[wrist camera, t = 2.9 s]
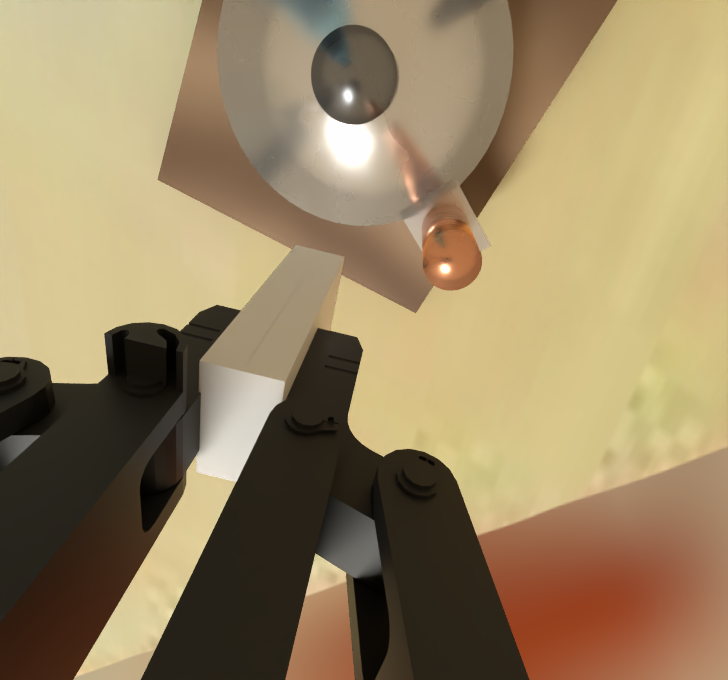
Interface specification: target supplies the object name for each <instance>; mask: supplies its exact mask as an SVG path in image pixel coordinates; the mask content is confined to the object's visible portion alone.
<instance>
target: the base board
mask: <svg viewBox="0 0 728 680" xmlns="http://www.w3.org/2000/svg"><path fill="white" fill-rule="evenodd" d="M507 1H508V6H509V11H510V16H511V21H512V33H513V45H514V47H513V71H512V77H511V84H510V91H509V95H508V99H507V103H506V106H505V110H504V114H503V116H502V119H501V121H500V124H499V127H498V129H497V132H496V134H495V136H494V138H493V140H492V142H491V144H490V145H489V147H488V149H487V151H486V153H485V154H484V156H483V157H482V159H481V160H480V162H479V163H478V164H477V166H476V167H475V169H474V170H473V171H472V172H471V173H470V175H469V176H468V177H467V178H466V179H465V180H464V181H463V183H462V184H461V185H460V187H461V189H462V191H463V193H464V195H465V196H466V198H467V200H468V202H469V204H470V206H471V208H472V210H473V212H474V214H475V215H476V217H478V216H479V214H480V213H481V211H482V210H483V208H484V206H485V205H486V203H487V202H488V200H489V199H490V197H491V196H492V194H493V193H494V191H495V189H496V188H497V186H498V185H499V183H500V182H501V180H502V179H503V177H504V175H505V174H506V172H507V171H508V169H509V168H510V166H511V165H512V163H513V161H514V160H515V158H516V157H517V155H518V154H519V152H520V151H521V149H522V148H523V146H524V144H525V143H526V141H527V140H528V138H529V137H530V135H531V134H532V132H533V130H534V129H535V127H536V126H537V124H538V123H539V121H540V120H541V118H542V116H543V115H544V113H545V112H546V110H547V109H548V107H549V106H550V104H551V103H552V101H553V99H554V98H555V96H556V95H557V93H558V92H559V90H560V89H561V87H562V85H563V84H564V82H565V81H566V79H567V78H568V76H569V75H570V73H571V71H572V70H573V68H574V67H575V65H576V64H577V62H578V61H579V59H580V58H581V56H582V54H583V53H584V51H585V50H586V48H587V47H588V45H589V44H590V42H591V40H592V39H593V37H594V36H595V34H596V33H597V31H598V30H599V28H600V26H601V25H602V23H603V22H604V20H605V19H606V17H607V16H608V14H609V13H610V11H611V9H612V8H613V6H614V5H615V3H616V2H617V0H507ZM222 5H223V0H202V4H201V8H200V12H199V16H198V20H197V24H196V28H195V32H194V36H193V40H192V44H191V48H190V52H189V56H188V60H187V64H186V68H185V72H184V76H183V80H182V84H181V88H180V92H179V96H178V100H177V104H176V108H175V112H174V116H173V120H172V124H171V128H170V132H169V136H168V140H167V144H166V148H165V152H164V156H163V160H162V164H161V168H160V173H159V177H158V180H159V181H161V182H163V183H165V184H167V185H169V186H171V187H173V188H175V189H177V190H179V191H181V192H182V193H184V194H186V195H188V196H190V197H192V198H194V199H196V200H198V201H200V202H202V203H204V204H206V205H208V206H210V207H211V208H213V209H215V210H217V211H219V212H221V213H223V214H225V215H227V216H229V217H231V218H233V219H235V220H237V221H239V222H241V223H242V224H244V225H246V226H248V227H250V228H252V229H254V230H256V231H258V232H260V233H262V234H264V235H266V236H268V237H270V238H272V239H273V240H275V241H277V242H279V243H281V244H283V245H285V246H287V247H289V248H291V249H293V248H294V246H295V245H299V246H303V247H307V248H311V249H315V250H319V251H323V252H327V253H331V254H336V255H340V256H344V257H345V258H344V263H343V268H342V273H341V275H343V276H345V277H347V278H349V279H351V280H353V281H355V282H357V283H359V284H361V285H362V286H364V287H366V288H368V289H370V290H372V291H374V292H376V293H378V294H380V295H382V296H384V297H386V298H388V299H390V300H392V301H393V302H395V303H397V304H399V305H401V306H403V307H405V308H407V309H409V310H411V311H413V312H415V313H416V312H417V310H418V309H419V307H420V306H421V304H422V303H423V301H424V300H425V298H426V296H427V295H428V293H429V292H430V290H431V289H432V287H433V286H434V285H433V284H432V283H431V282H430V281H429V280H428V279H427V277H426V276H425V273H424V270H423V254H422V251H421V249H420V247H419V246H418V244H417V242H416V241H415V239H414V237H413V235H412V234H411V232H410V230H409V229H408V227H407V225H406V224H405V222H404V220H402V221H398V222H393V223H389V224H384V225H373V226H355V225H347V224H341V223H335V222H332V221H329V220H325V219H322V218H319V217H317V216H315V215H312V214H310V213H308V212H306V211H304V210H302V209H300V208H299V207H297V206H296V205H294V204H292V203H291V202H289V201H288V200H287V199H285V198H284V197H283V196H281V195H280V194H279V193H278V192H276V191H275V190H274V189H273V188H272V187H271V186H270V185H269V184H268V183H267V182H266V181H265V180H264V179H263V178H262V176H261V175H260V174H259V173H258V171H257V170H256V169H255V168H254V166H253V165H252V164H251V162H250V161H249V159H248V158H247V156H246V154H245V153H244V151H243V149H242V148H241V146H240V144H239V142H238V140H237V138H236V136H235V134H234V132H233V130H232V127H231V124H230V121H229V119H228V116H227V113H226V110H225V106H224V102H223V98H222V94H221V90H220V83H219V75H218V67H217V39H218V28H219V19H220V14H221V10H222Z"/></svg>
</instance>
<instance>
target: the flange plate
mask: <svg viewBox="0 0 728 680" xmlns="http://www.w3.org/2000/svg"><path fill="white" fill-rule="evenodd" d="M513 47H514V45H513V33H512V21H511V16H510V11H509V6H508V1H507V0H223V5H222V10H221V14H220V19H219V28H218V39H217V67H218V75H219V83H220V90H221V94H222V98H223V102H224V106H225V110H226V113H227V116H228V119H229V121H230V124H231V127H232V130H233V132H234V134H235V136H236V138H237V140H238V142H239V144H240V146H241V148H242V149H243V151H244V153H245V154H246V156H247V158H248V159H249V161H250V162H251V164H252V165H253V166H254V168H255V169H256V170H257V171H258V173H259V174H260V175H261V176H262V178H263V179H264V180H265V181H266V182H267V183H268V184H269V185H270V186H271V187H272V188H273V189H274V190H275V191H276V192H278V193H279V194H280V195H281V196H283V197H284V198H285V199H287V200H288V201H289V202H291V203H292V204H294V205H296V206H297V207H299V208H300V209H302V210H304V211H306V212H308V213H310V214H312V215H315V216H317V217H319V218H322V219H325V220H329V221H332V222H335V223H341V224H347V225H355V226H373V225H384V224H389V223H393V222H398V221H402V220H404V222H405V224H406V225H407V227H408V229H409V230H410V232H411V234H412V235H413V237H414V239H415V241H416V242H417V244H418V246H419V247H420V249H421V251H422V254H423V270H424V273H425V276H426V277H427V279H428V280H429V281H430V282H431V283H432V284H433V285H434V286H436V287H438V288H440V289H443V290H458V289H461V288H464V287H466V286H468V285H469V284H470V283H472V282H473V281H474V280H475V279H476V277H477V276H478V274H479V272H480V270H481V266H482V256H481V252H480V251H482V250H484V249H486V248H488V247H489V246H491V245H490V243H489V241H488V239H487V236H486V234H485V233H484V231H483V229H482V227H481V225H480V223H479V221H478V219H477V217H476V215H475V214H474V212H473V210H472V208H471V206H470V204H469V202H468V200H467V198H466V196H465V195H464V193H463V191H462V189H461V187H460V185H461V184H462V183H463V181H464V180H465V179H466V178H467V177H468V176H469V175H470V173H471V172H472V171H473V170H474V169H475V167H476V166H477V164H478V163H479V162H480V160H481V159H482V157H483V156H484V154H485V153H486V151H487V149H488V147H489V145H490V144H491V142H492V140H493V138H494V136H495V134H496V132H497V129H498V127H499V124H500V121H501V119H502V116H503V114H504V110H505V106H506V103H507V99H508V95H509V91H510V84H511V77H512V71H513Z"/></svg>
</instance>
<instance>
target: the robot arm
mask: <svg viewBox="0 0 728 680" xmlns="http://www.w3.org/2000/svg"><path fill="white" fill-rule="evenodd" d="M344 258H345V257H344V256H340V255H336V254H331V253H327V252H323V251H319V250H315V249H311V248H307V247H303V246H299V245H295V246H294V248H293V249H292V250H291V251H290V252H289V254H288V255H287V256H286V257H285V258H284V260H283V261H282V262H281V263H280V264H279V266H278V267H277V268H276V269H275V270H274V272H273V273H272V274H271V275H270V276H269V278H268V279H267V280H266V281H265V283H264V284H263V285H262V286H261V287H260V289H259V290H258V291H257V292H256V293H255V295H254V296H253V297H252V298H251V299H250V301H249V302H248V303H247V304H246V305H245V307H244V308H243V309H242V310H241V311H240V310H236V309H232V308H228V307H224V306H219V305H216V306H213V307H211V308H209V309H206V310H204V311H201V312H199V313H198V314H197V315H196V316H195V317H194V318H193V319H192V320H191V321H190V322H189V325H186V326H185V327H184V328H183V329H182V330H181V331H178V330H177V329H175V328H172V327H169V326H167V325H164V324H156V323H149V322H148V323H131V324H127V325H123V326H119V327H116V328H114V329H112V330H110V331H108V332H106V333H104V335H105V345H106V355H107V365H108V375H107V376H106V377H105V378H104V379H103V380H101V381H100V382H99V383H98V384H69V383H52V381H51V375H50V371H49V368H48V367H47V366H46V365H44V364H43V363H42V362H40V361H37V360H33V359H30V358H25V357H3V358H0V680H73V679H74V677H75V676H76V674H77V672H78V671H79V669H80V667H81V666H82V664H83V662H84V660H85V659H86V657H87V655H88V654H89V652H90V650H91V649H92V647H93V645H94V644H95V642H96V640H97V639H98V637H99V635H100V633H101V632H102V630H103V628H104V627H105V625H106V623H107V622H108V620H109V618H110V617H111V615H112V613H113V612H114V610H115V608H116V606H117V605H118V603H119V601H120V600H121V598H122V596H123V595H124V593H125V591H126V590H127V588H128V586H129V585H130V583H131V581H132V579H133V578H134V576H135V574H136V573H137V571H138V569H139V568H140V566H141V564H142V563H143V561H144V559H145V558H146V556H147V554H148V553H149V551H150V549H151V547H152V546H153V544H154V542H155V541H156V539H157V537H158V536H159V534H160V532H161V531H162V529H163V527H164V526H165V524H166V522H167V520H168V519H169V517H170V515H171V514H172V512H173V510H174V509H175V507H176V505H177V504H178V502H179V500H180V499H181V497H182V495H183V493H184V489H185V486H186V471H187V469H188V467H189V466H190V464H191V463H192V461H193V459H194V458H195V456H196V455H197V473H201V474H206V475H210V476H214V477H218V478H222V479H226V480H230V481H234V482H236V484H235V486H234V488H233V490H232V492H231V494H230V496H229V498H228V500H227V502H226V505H225V507H224V509H223V511H222V513H221V515H220V517H219V519H218V521H217V523H216V525H215V527H214V529H213V531H212V534H211V536H210V538H209V540H208V542H207V544H206V546H205V548H204V550H203V552H202V554H201V556H200V558H199V560H198V563H197V565H196V567H195V569H194V571H193V573H192V575H191V577H190V579H189V581H188V583H187V585H186V587H185V589H184V591H183V594H182V596H181V598H180V600H179V602H178V604H177V606H176V608H175V610H174V612H173V614H172V616H171V618H170V620H169V623H168V625H167V627H166V629H165V631H164V633H163V635H162V637H161V639H160V641H159V643H158V645H157V647H156V649H155V652H154V654H153V656H152V658H151V660H150V662H149V664H148V666H147V669H146V670H145V672H144V674H143V676H142V678H141V680H285V678H286V674H287V670H288V666H289V661H290V657H291V653H292V649H293V645H294V640H295V636H296V632H297V628H298V623H299V619H300V615H301V611H302V607H303V602H304V598H305V594H306V590H307V586H308V582H309V577H310V573H311V569H312V565H313V561H314V556H315V553H316V554H318V555H319V556H321V557H322V558H324V559H325V560H327V561H329V562H330V563H332V564H333V565H335V566H337V567H338V568H340V569H341V570H343V571H345V572H346V580H347V592H348V603H349V616H350V628H351V639H352V651H353V663H354V675H355V680H529V678H528V675H527V673H526V669H525V667H524V664H523V661H522V659H521V656H520V653H519V650H518V648H517V645H516V642H515V639H514V637H513V634H512V632H511V629H510V626H509V623H508V621H507V618H506V615H505V612H504V609H503V607H502V604H501V601H500V598H499V596H498V593H497V590H496V587H495V585H494V582H493V580H492V577H491V574H490V571H489V569H488V566H487V563H486V560H485V557H484V555H483V552H482V549H481V546H480V544H479V541H478V538H477V535H476V533H475V530H474V527H473V525H472V522H471V519H470V516H469V514H468V511H467V508H466V505H465V503H464V500H463V497H462V494H461V492H460V489H459V486H458V484H457V481H456V479H455V478H454V476H453V474H452V473H451V471H450V469H449V468H447V467H446V466H445V465H444V464H443V463H442V462H441V461H440V460H439V459H437V458H435V457H433V456H431V455H429V454H427V453H425V452H422V451H417V450H412V449H403V450H395V451H393V452H391V453H389V454H387V455H385V456H384V457H383V456H381V455H379V454H377V453H375V452H373V451H372V450H370V449H368V448H367V447H365V446H364V445H362V444H361V443H360V442H359V441H358V440H357V439H356V438H355V437H354V435H353V434H352V432H351V431H350V429H349V425H348V412H349V408H350V403H351V399H352V395H353V391H354V386H355V382H356V378H357V373H358V369H359V365H360V361H361V356H362V352H363V349H362V347H361V345H360V342H359V340H358V338H357V337H353V336H349V335H345V334H341V333H337V332H333V331H330V329H331V324H332V319H333V314H334V309H335V304H336V299H337V293H338V288H339V283H340V278H341V273H342V268H343V263H344Z"/></svg>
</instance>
